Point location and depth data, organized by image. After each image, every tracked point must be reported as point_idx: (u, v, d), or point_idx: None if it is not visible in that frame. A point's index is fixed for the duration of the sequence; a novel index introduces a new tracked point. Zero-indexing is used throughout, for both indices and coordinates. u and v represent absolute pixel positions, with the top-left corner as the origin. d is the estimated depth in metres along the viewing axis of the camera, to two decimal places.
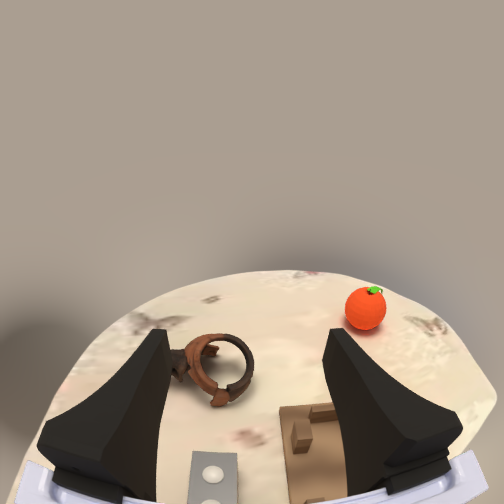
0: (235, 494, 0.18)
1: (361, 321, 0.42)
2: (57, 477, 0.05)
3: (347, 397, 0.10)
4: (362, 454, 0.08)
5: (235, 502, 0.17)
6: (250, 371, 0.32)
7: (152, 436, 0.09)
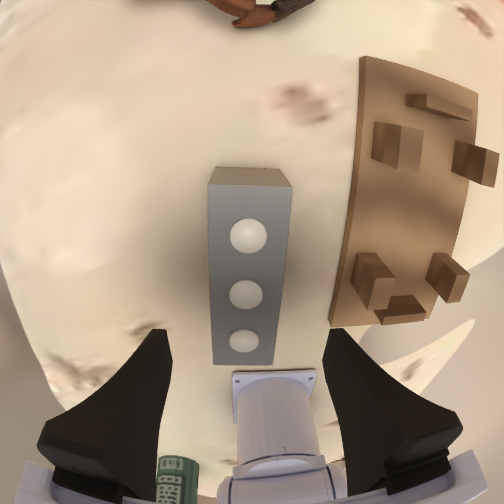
0: (282, 268, 0.16)
1: None
2: (57, 477, 0.05)
3: (347, 397, 0.10)
4: (362, 454, 0.08)
5: (281, 280, 0.16)
6: None
7: (152, 436, 0.09)
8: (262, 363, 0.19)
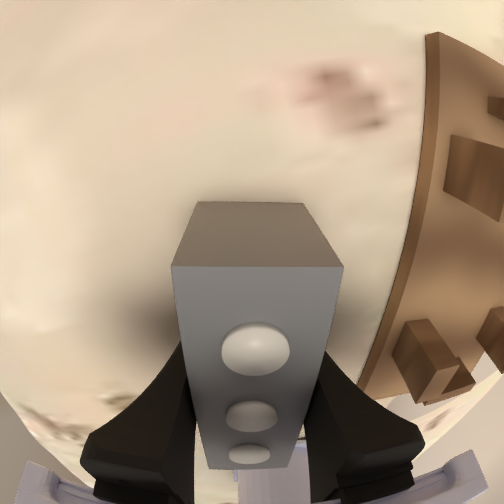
0: (311, 385, 0.09)
1: None
2: (57, 477, 0.05)
3: None
4: (320, 461, 0.08)
5: (307, 398, 0.09)
6: None
7: (191, 440, 0.09)
8: (274, 467, 0.12)
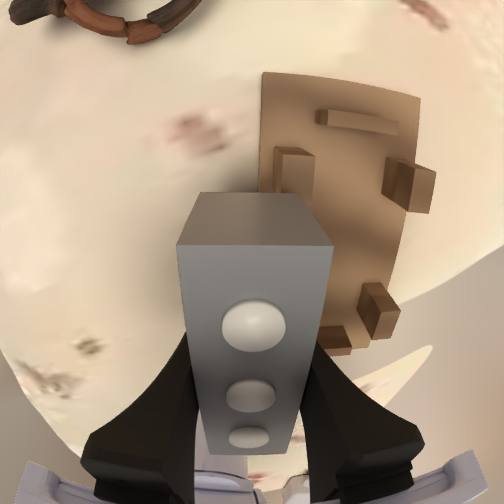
0: (307, 363, 0.09)
1: None
2: (57, 477, 0.05)
3: (309, 401, 0.10)
4: (320, 461, 0.08)
5: (304, 377, 0.10)
6: None
7: (191, 440, 0.09)
8: (273, 453, 0.13)
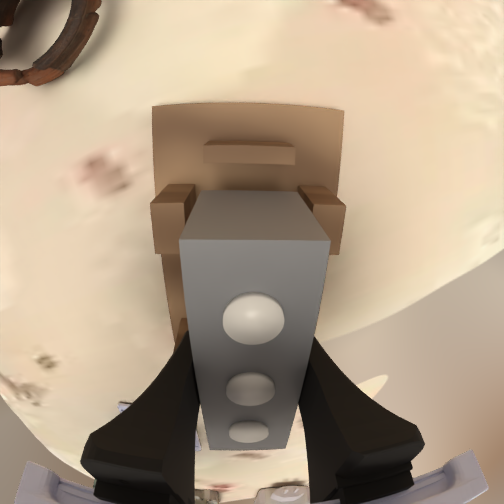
0: (306, 357, 0.10)
1: None
2: (57, 477, 0.05)
3: (309, 401, 0.10)
4: (320, 461, 0.08)
5: (303, 371, 0.10)
6: (77, 11, 0.08)
7: (191, 440, 0.09)
8: (272, 448, 0.13)
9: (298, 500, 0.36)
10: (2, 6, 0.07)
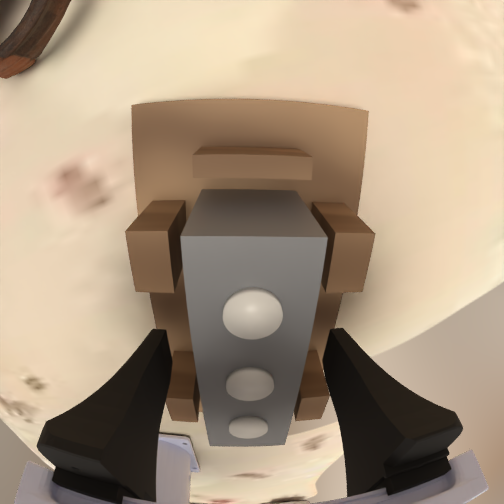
0: (304, 352, 0.10)
1: None
2: (57, 477, 0.05)
3: (347, 397, 0.10)
4: (362, 454, 0.08)
5: (301, 366, 0.10)
6: None
7: (152, 436, 0.09)
8: (272, 444, 0.13)
9: None
10: None
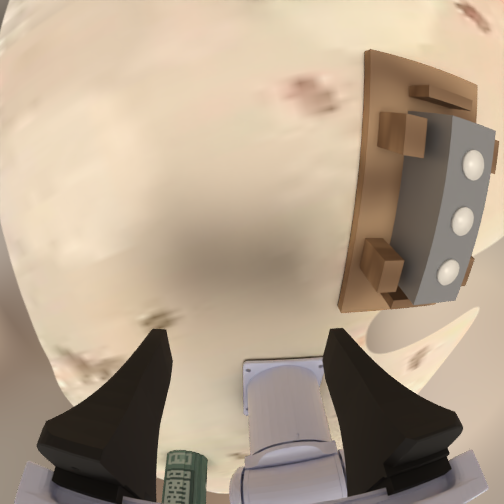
0: (484, 198, 0.14)
1: None
2: (57, 477, 0.05)
3: (347, 397, 0.10)
4: (362, 454, 0.08)
5: (482, 209, 0.14)
6: None
7: (152, 436, 0.09)
8: (449, 298, 0.17)
9: None
10: None
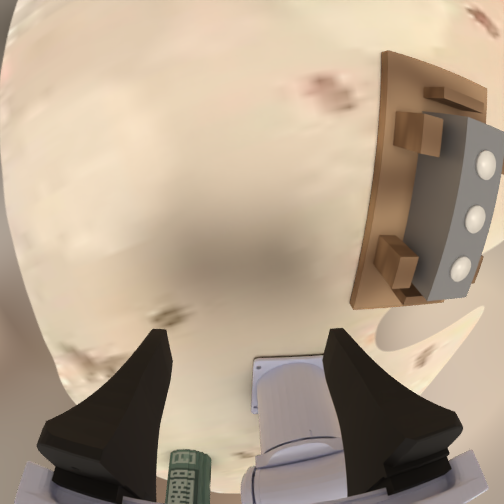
0: (495, 197, 0.14)
1: None
2: (57, 477, 0.05)
3: (347, 397, 0.10)
4: (362, 454, 0.08)
5: (493, 208, 0.14)
6: None
7: (152, 436, 0.09)
8: (460, 295, 0.17)
9: None
10: None
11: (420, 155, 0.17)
